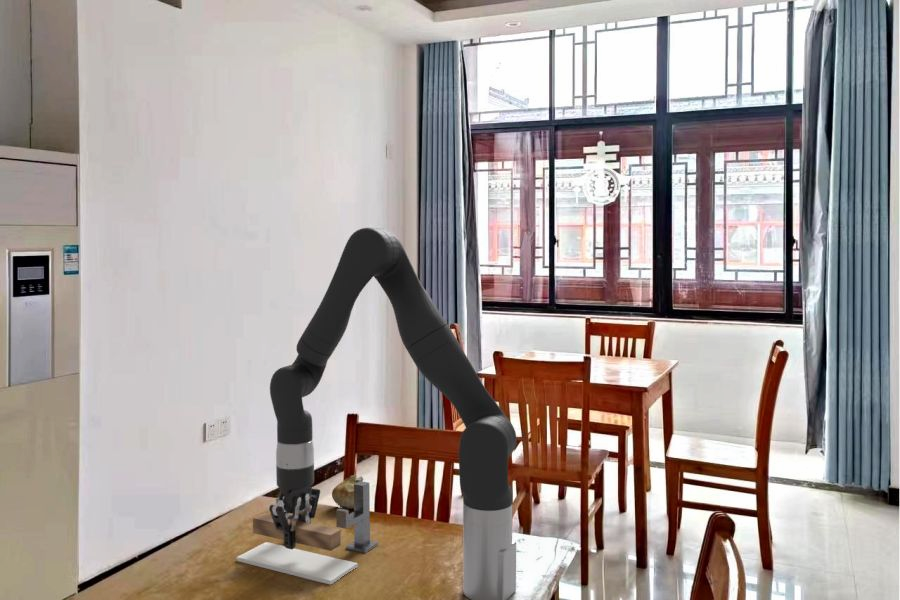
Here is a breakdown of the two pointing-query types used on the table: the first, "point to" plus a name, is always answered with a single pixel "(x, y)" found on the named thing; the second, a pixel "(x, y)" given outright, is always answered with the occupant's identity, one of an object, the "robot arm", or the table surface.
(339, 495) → the onion
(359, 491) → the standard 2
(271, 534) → the rail
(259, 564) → the mat
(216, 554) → the table surface
